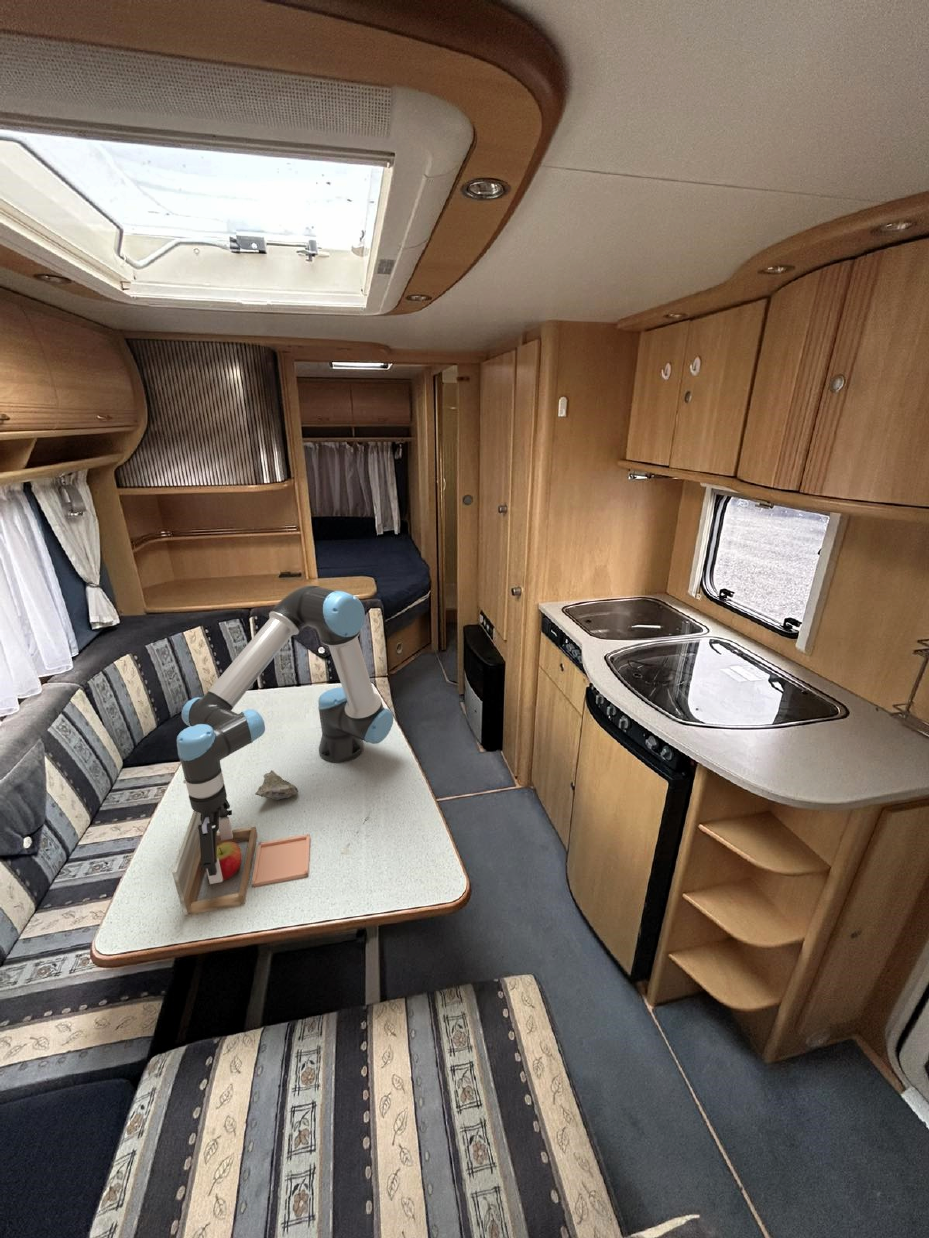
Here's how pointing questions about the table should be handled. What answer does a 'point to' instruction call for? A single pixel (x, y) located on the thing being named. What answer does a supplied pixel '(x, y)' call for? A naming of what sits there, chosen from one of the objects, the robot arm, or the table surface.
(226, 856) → the apple
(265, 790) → the rock
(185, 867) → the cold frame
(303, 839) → the dish
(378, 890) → the table surface
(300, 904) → the table surface
